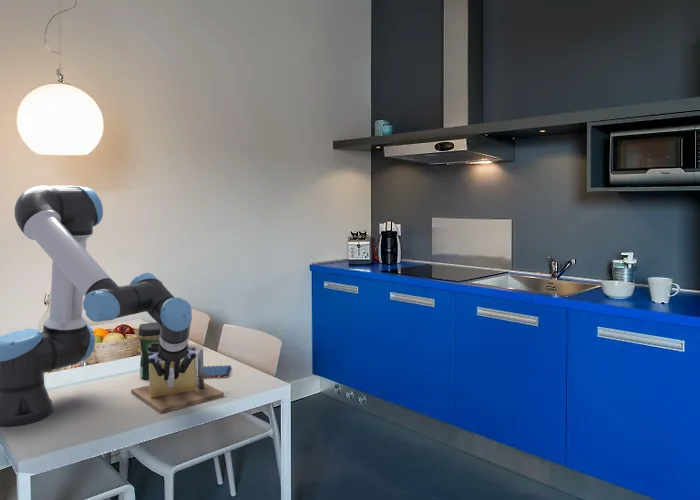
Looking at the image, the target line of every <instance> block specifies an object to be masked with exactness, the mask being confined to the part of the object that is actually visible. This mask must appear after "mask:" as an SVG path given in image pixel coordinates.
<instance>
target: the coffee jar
mask: <svg viewBox="0 0 700 500" xmlns="http://www.w3.org/2000/svg"><path fill="white" fill-rule="evenodd" d="M137 337H138V341H139V344H140V362H139V376H140V379H142V380H150V378H149V353H153V354H156V353H157V350H158V349H159V338H160V326H159V324H158V323H157V322H156V321H155V322H148V323H147V322H146V323H140V324H139V326H138V333H137Z"/></svg>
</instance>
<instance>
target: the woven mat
mask: <svg viewBox="0 0 700 500" xmlns="http://www.w3.org/2000/svg"><path fill="white" fill-rule="evenodd" d="M203 366H204V380H206V379H210V378H211V379H217V378H218V379H223V378H225V379H227V378H228V377H229V376H230V372H231V370H232V367H231V366H232V365H227V364H226V365H211V366H210V365H208V366H207V365H203ZM197 378H198V375H197Z"/></svg>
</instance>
